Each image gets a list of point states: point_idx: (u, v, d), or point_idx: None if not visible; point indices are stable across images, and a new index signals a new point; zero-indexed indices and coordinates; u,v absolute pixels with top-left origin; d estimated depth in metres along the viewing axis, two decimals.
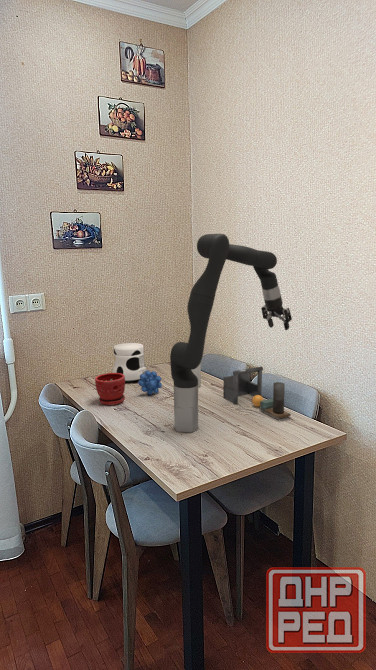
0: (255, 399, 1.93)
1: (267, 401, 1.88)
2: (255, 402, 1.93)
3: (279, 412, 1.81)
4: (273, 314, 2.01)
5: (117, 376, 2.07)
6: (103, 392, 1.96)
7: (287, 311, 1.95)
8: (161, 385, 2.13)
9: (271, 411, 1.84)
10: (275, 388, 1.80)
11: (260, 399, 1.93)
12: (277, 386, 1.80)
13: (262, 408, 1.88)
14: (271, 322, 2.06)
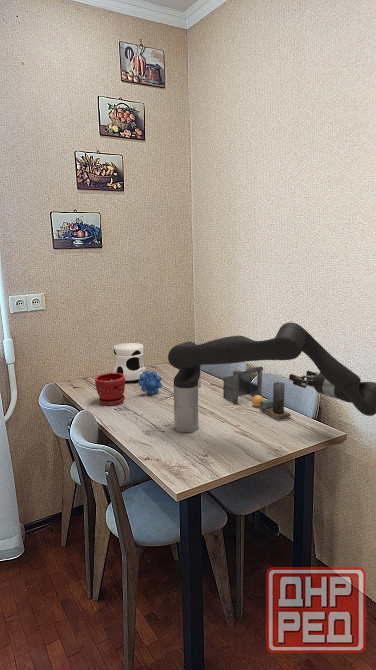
0: (255, 399, 1.93)
1: (267, 401, 1.88)
2: (255, 402, 1.93)
3: (279, 412, 1.81)
4: None
5: (117, 376, 2.07)
6: (103, 392, 1.96)
7: (302, 383, 1.59)
8: (161, 385, 2.13)
9: (271, 411, 1.84)
10: (275, 388, 1.80)
11: (260, 399, 1.93)
12: (277, 386, 1.80)
13: (262, 408, 1.88)
14: (310, 375, 1.71)
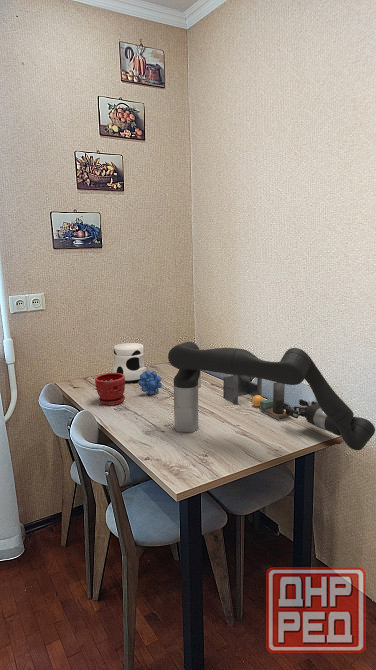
0: (255, 399, 1.93)
1: (267, 401, 1.88)
2: (255, 402, 1.93)
3: (279, 412, 1.81)
4: None
5: (117, 376, 2.07)
6: (103, 392, 1.96)
7: (294, 413, 1.64)
8: (161, 385, 2.13)
9: (271, 411, 1.84)
10: (275, 388, 1.80)
11: (260, 399, 1.93)
12: (277, 386, 1.80)
13: (262, 408, 1.88)
14: (303, 403, 1.76)
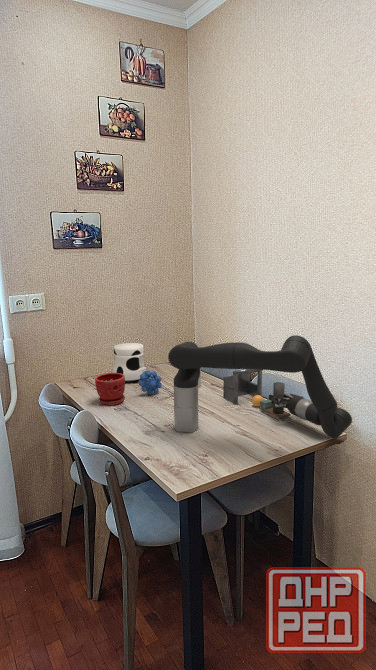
0: (255, 399, 1.93)
1: (267, 401, 1.88)
2: (255, 402, 1.93)
3: (279, 412, 1.81)
4: None
5: (117, 376, 2.07)
6: (103, 392, 1.96)
7: (275, 404, 1.74)
8: (161, 385, 2.13)
9: (271, 411, 1.84)
10: (275, 388, 1.80)
11: (260, 399, 1.93)
12: (277, 386, 1.80)
13: (262, 408, 1.88)
14: None
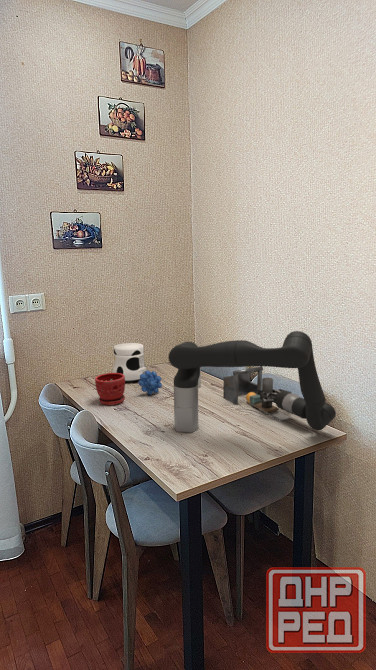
0: (246, 396, 1.99)
1: (256, 396, 1.94)
2: (247, 396, 1.98)
3: (268, 407, 1.88)
4: (276, 394, 1.83)
5: (117, 376, 2.07)
6: (103, 392, 1.96)
7: (264, 398, 1.80)
8: (161, 385, 2.13)
9: (260, 406, 1.91)
10: (264, 383, 1.86)
11: None
12: (265, 381, 1.86)
13: (251, 403, 1.94)
14: None
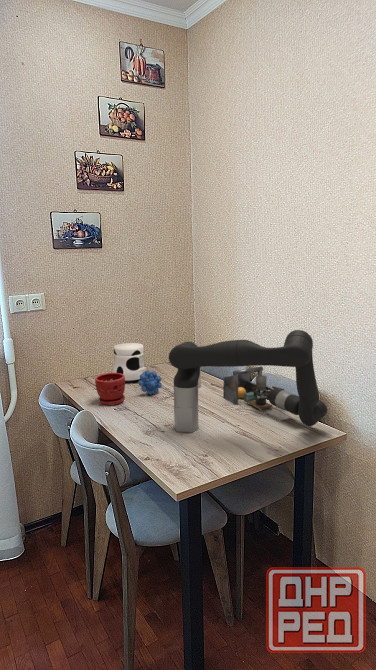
0: (238, 394, 2.04)
1: (250, 393, 1.98)
2: None
3: (261, 403, 1.91)
4: None
5: (117, 376, 2.07)
6: (103, 392, 1.96)
7: (257, 395, 1.84)
8: (161, 385, 2.13)
9: (254, 403, 1.94)
10: (257, 381, 1.90)
11: (242, 396, 2.05)
12: (259, 378, 1.89)
13: (246, 400, 1.98)
14: None
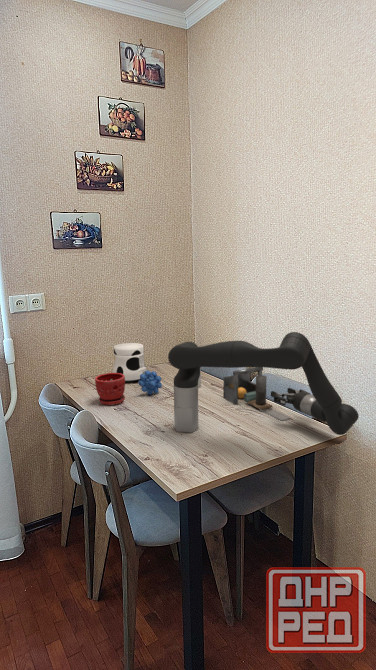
0: (239, 395, 2.04)
1: (250, 393, 1.98)
2: None
3: (261, 403, 1.91)
4: (293, 394, 1.75)
5: (117, 376, 2.07)
6: (103, 392, 1.96)
7: (282, 400, 1.70)
8: (161, 385, 2.13)
9: (254, 403, 1.94)
10: (257, 381, 1.90)
11: (242, 397, 2.05)
12: (259, 378, 1.89)
13: (246, 400, 1.98)
14: (291, 392, 1.81)
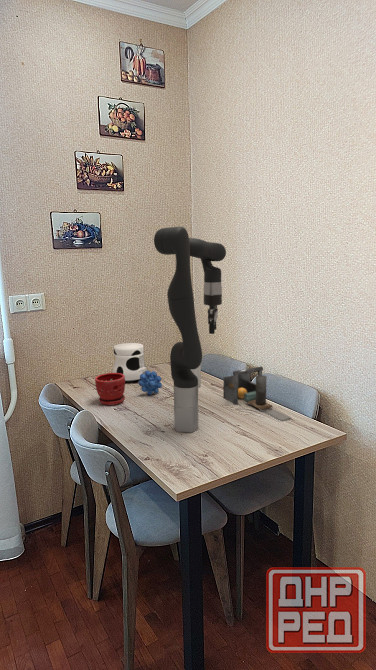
0: (239, 396, 2.04)
1: (250, 393, 1.98)
2: None
3: (261, 403, 1.91)
4: None
5: (117, 376, 2.07)
6: (103, 392, 1.96)
7: (210, 311, 1.81)
8: (161, 385, 2.13)
9: (254, 403, 1.94)
10: (257, 381, 1.90)
11: None
12: (259, 378, 1.89)
13: (246, 400, 1.98)
14: None
